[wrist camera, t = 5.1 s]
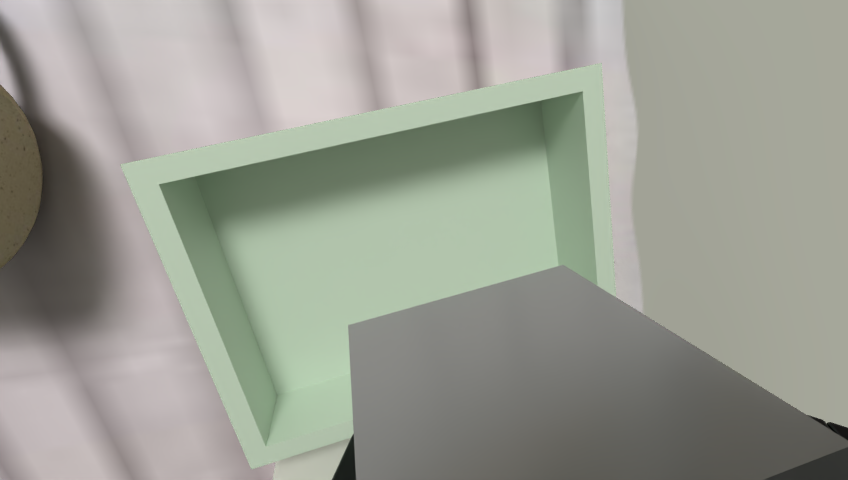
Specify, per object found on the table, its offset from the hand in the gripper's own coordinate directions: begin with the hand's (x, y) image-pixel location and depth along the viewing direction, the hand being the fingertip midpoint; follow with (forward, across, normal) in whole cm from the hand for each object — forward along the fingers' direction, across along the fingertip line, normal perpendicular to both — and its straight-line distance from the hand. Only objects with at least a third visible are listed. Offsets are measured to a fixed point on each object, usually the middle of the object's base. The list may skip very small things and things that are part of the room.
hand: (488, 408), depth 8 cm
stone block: (+1, 0, 0) cm, 1 cm away
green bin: (+11, 0, 0) cm, 11 cm away
